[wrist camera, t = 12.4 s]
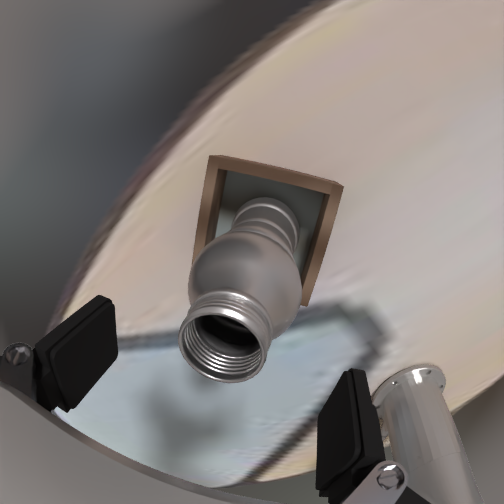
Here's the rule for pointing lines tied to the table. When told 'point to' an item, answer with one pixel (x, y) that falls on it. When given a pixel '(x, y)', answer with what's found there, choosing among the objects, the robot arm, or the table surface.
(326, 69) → the table surface
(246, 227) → the silver rounded threaded piece
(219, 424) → the table surface
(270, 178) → the square wooden frame
